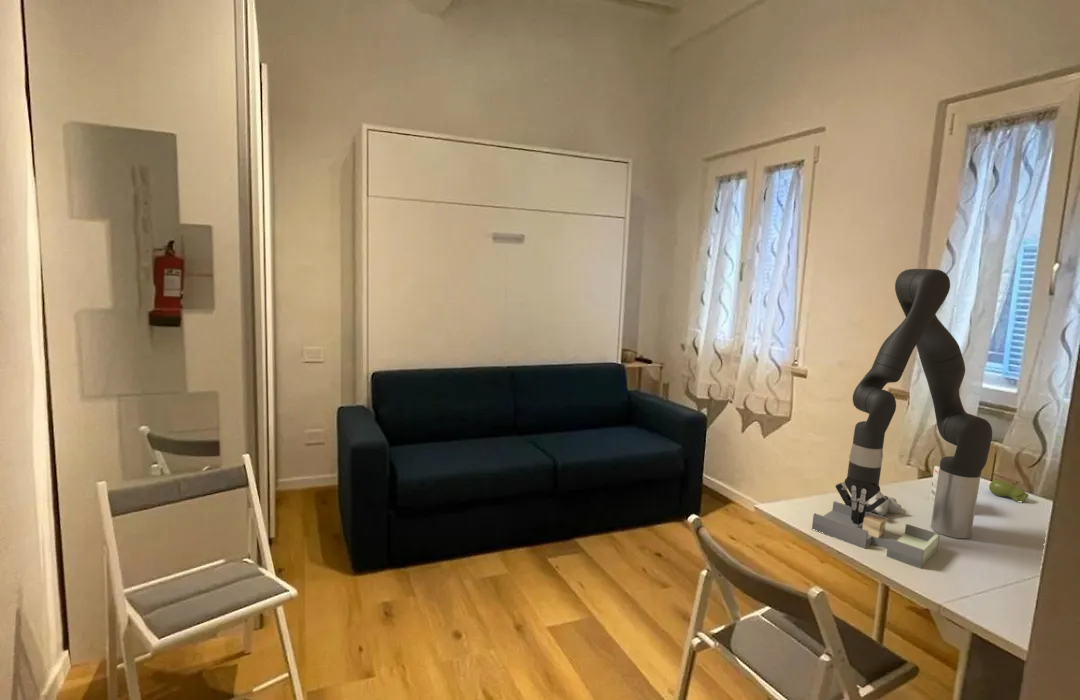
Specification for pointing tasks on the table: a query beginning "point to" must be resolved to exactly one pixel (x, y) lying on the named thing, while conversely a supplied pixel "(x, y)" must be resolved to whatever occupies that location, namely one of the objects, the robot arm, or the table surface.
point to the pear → (1007, 490)
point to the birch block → (874, 525)
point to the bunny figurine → (885, 506)
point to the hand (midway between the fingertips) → (856, 523)
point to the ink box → (934, 484)
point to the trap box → (906, 549)
